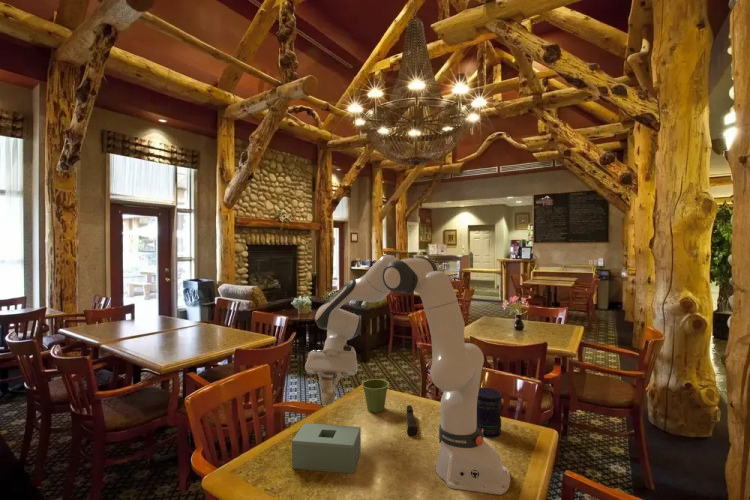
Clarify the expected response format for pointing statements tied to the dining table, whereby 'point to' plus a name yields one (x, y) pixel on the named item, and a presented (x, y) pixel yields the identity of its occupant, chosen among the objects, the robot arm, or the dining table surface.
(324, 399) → the wooden block
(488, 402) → the storage jar
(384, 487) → the dining table surface
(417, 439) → the dining table surface
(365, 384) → the plant pot
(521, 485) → the dining table surface
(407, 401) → the dining table surface
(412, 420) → the hand tool
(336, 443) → the box with square hole
